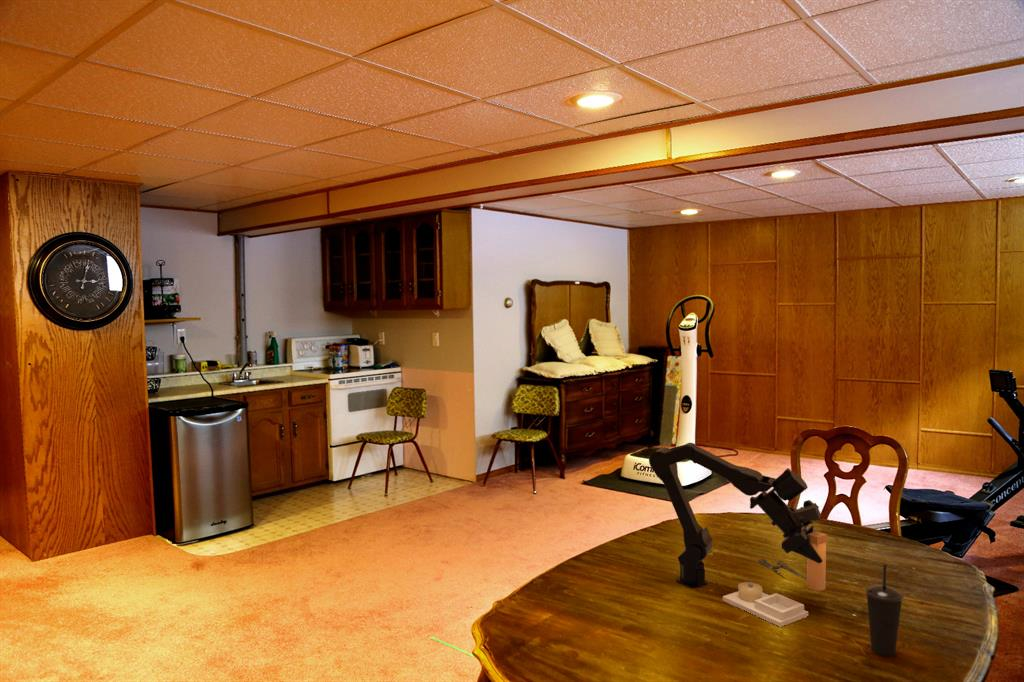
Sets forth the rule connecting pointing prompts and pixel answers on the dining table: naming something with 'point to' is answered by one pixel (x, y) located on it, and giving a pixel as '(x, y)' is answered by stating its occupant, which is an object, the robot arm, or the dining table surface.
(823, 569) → the orange square-topped peg
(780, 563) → the hacksaw
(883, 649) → the drinking cup
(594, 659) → the dining table surface
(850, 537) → the dining table surface
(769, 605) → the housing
